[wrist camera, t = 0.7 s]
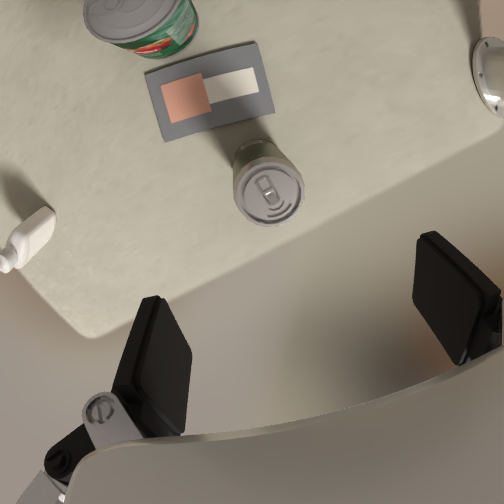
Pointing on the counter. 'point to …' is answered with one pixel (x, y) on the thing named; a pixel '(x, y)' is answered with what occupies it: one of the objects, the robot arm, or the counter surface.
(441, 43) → the counter surface
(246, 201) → the beer can
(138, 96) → the counter surface
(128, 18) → the canned tomato
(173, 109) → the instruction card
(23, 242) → the eye dropper bottle
